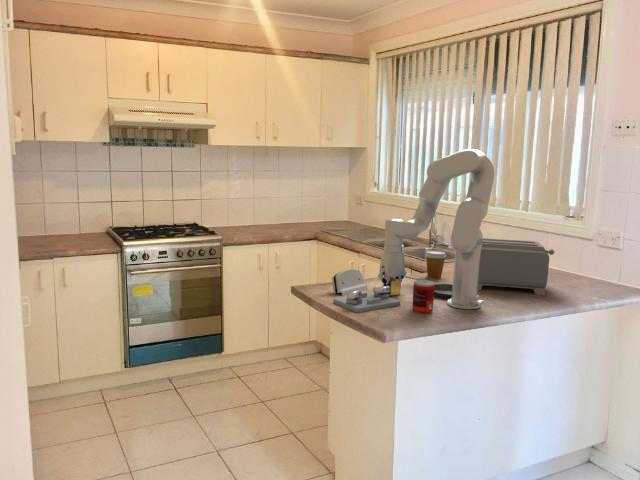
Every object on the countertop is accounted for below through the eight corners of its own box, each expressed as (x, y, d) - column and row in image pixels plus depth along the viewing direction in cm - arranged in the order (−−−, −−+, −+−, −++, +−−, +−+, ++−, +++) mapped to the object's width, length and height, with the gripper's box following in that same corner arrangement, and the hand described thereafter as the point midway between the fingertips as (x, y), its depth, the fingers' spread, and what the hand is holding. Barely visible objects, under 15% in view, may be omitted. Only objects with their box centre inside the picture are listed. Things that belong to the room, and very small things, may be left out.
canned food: (430, 307, 216) (432, 279, 214) (435, 314, 208) (437, 285, 206) (410, 307, 215) (411, 279, 214) (414, 313, 208) (416, 284, 206)
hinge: (342, 296, 228) (337, 271, 229) (334, 297, 232) (328, 273, 232) (368, 289, 241) (363, 266, 241) (359, 290, 244) (354, 268, 244)
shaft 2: (383, 299, 226) (384, 284, 225) (391, 301, 222) (391, 286, 221) (371, 301, 222) (372, 286, 221) (378, 303, 219) (379, 288, 218)
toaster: (554, 296, 240) (560, 249, 237) (470, 289, 246) (473, 243, 243) (545, 285, 259) (550, 241, 255) (467, 279, 265) (470, 236, 261)
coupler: (400, 294, 233) (400, 278, 232) (391, 295, 230) (391, 279, 229) (392, 291, 237) (392, 276, 236) (383, 292, 234) (383, 277, 233)
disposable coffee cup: (437, 274, 273) (438, 250, 271) (448, 279, 264) (450, 253, 262) (420, 275, 270) (421, 250, 268) (430, 280, 261) (432, 254, 259)
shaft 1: (353, 304, 217) (353, 288, 216) (362, 306, 215) (363, 290, 214) (344, 307, 212) (345, 291, 211) (354, 309, 210) (355, 294, 209)
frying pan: (456, 303, 224) (456, 294, 223) (390, 287, 246) (391, 279, 245) (478, 295, 237) (479, 287, 236) (414, 281, 258) (414, 273, 258)
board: (375, 295, 230) (375, 288, 230) (400, 305, 218) (400, 297, 218) (333, 302, 219) (333, 294, 218) (356, 312, 206) (357, 304, 206)
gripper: (402, 245, 239) (401, 287, 241) (371, 249, 229) (369, 292, 232) (415, 248, 232) (413, 291, 235) (383, 252, 223) (381, 297, 226)
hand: (391, 291), depth 234 cm, fingers closed on coupler, 5 cm apart
